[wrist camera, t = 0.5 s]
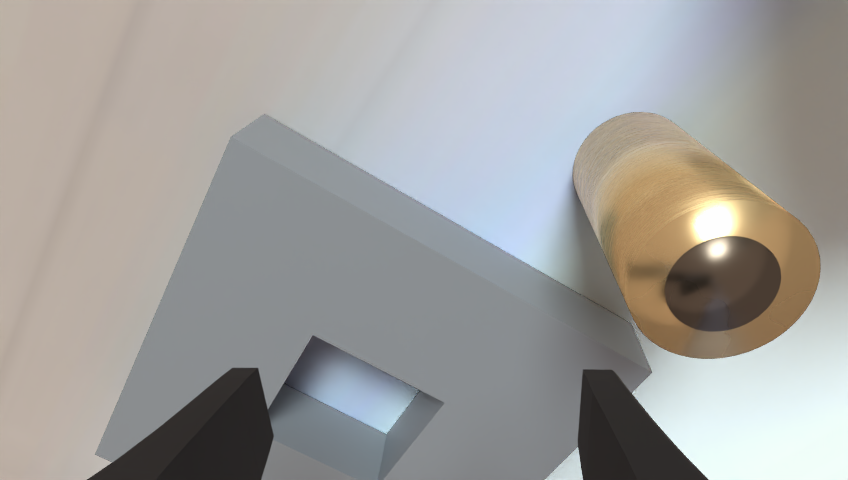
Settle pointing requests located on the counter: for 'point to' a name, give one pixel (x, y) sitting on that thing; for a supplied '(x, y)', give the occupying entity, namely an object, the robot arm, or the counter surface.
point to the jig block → (368, 325)
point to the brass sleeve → (692, 240)
